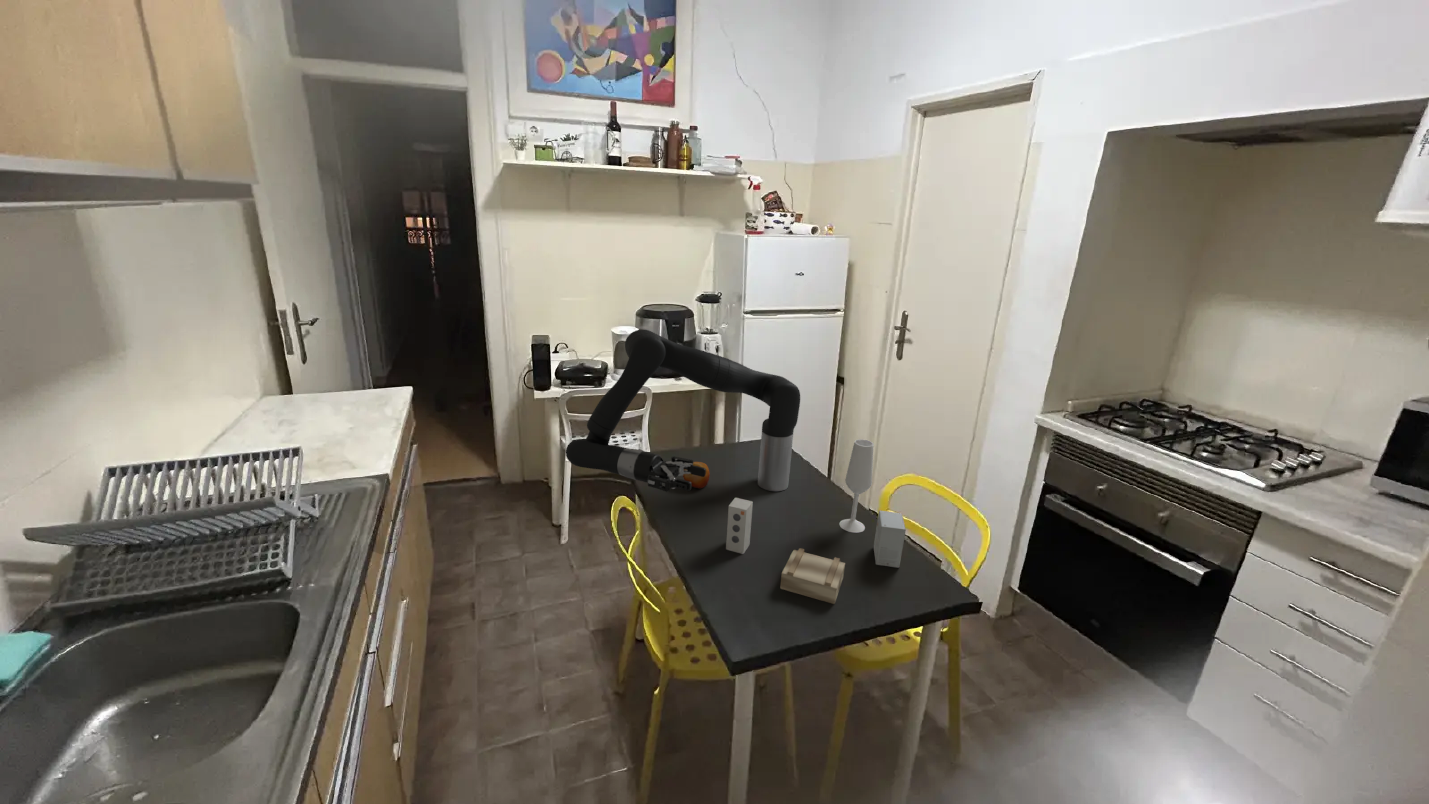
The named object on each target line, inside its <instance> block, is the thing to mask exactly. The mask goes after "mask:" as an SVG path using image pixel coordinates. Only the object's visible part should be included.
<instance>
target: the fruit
mask: <svg viewBox="0 0 1429 804" xmlns="http://www.w3.org/2000/svg"><path fill="white" fill-rule="evenodd" d="M693 465H694V466H698V467H703V468H705V469H706V475H705V476H704V477H701V476H697V475H693V474H684V475H683V476H682V478H683V480H686V481H690V482H691V483H692V486H691V488H696V489H704V488H705V487H707V485H708V483H709V480H710V476H711V473H710V468H709V466H708V464H706V463H704V462H703V461H702V462H701V461H693ZM684 470H686V469H684Z"/></svg>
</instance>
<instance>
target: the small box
mask: <svg viewBox="0 0 1429 804" xmlns="http://www.w3.org/2000/svg"><path fill="white" fill-rule="evenodd" d="M906 530H907V529H906V524H905V521H904V516H903V513H901V512H893V511H887V510H878V515H877V522H876V528H875V535H874V541H873V551H874V552H873V553H874V561H875V565H876V566H882V567H883V566H885V567H891V568H900V566H901V559H902V556H903V555H902V554H903V548H904V544H905V543H904V542H905V536H906Z"/></svg>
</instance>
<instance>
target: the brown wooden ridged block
mask: <svg viewBox="0 0 1429 804" xmlns="http://www.w3.org/2000/svg"><path fill="white" fill-rule="evenodd" d="M845 566H846V562H842V561H841V558H840V557H836V556H834V558H833V559H831V558H827V557H823V556H819V555H816V554H812V553H807V552H805V549H804V548H800V547H799V548H798V550H796V549H793V551H792V552H791V554H790V556H789V558H788V560H787V562H786V564H785V566H784V568H783V569H782V572H781V577H780V589H781V590H783V591H784V590H785V591H787V592H791V593H794V594H797V595H798V594H799V595H800V596H801V595H802V596H805V597H809V598H812V599H816V600H817V601H818V600H819V601H822V602H826V603H829V604H832V605H835V604H836V602H837V598H838V595H839V592H840V589H841V586H842V583H843V580H844V576H845V575H844V574H845Z"/></svg>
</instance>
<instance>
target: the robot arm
mask: <svg viewBox="0 0 1429 804" xmlns="http://www.w3.org/2000/svg"><path fill="white" fill-rule="evenodd" d="M624 348H625V353H626V355H627V357H628V360H627V363H626V365H625V367H624V369H623V371H622V373H621V375H620V376H619V378H618V379H617V381H616V382H615V383H614V385H613V386H612V387H610V388H609V390H607V392H606V393H605V394H604V395H603V396H602V397H601V398H600V400H599V401H598V403H597V405H596V406H595V407H594V409H593V412H592V413H591V415H590V416H589V418H588V420H587V423H586V428H587V429H588V431H589V432H588V434H587V436H586V438H576V439H573V440H571V441H570V442H569V443H568V444H567V446H566V448H565V456H566V459H567V460H568V462H569V463H571V464H572V465H574V466H576V467H579V468H584V469H585V468H586V469H590V470H591V469H592V470H601V471H605V472H608V473H612V474H614V475H620V476H623V477H625V478H628V479H631V480H635V481H638V482H643V483H647V486H648V487H650V488H653V489H657V490H660V491H664V492H670V491H671V489H672V490H675V489H678V490H679V489H680V490H683V491H687V492H689V491H692V487H691V486H692V483H691V482H690V481H686V480H684V479H681V478H677V477H683V475H684V474H693V475H697V476H701V477H704V476H705V475H706V469H705V468H703V467H698V466H694V465H693V462H694V460H693V459H689V458H684V457H678V456H674V455H673V456H671V458H670V459H671V460H664V459H663V458H662V456H661V455H660V454H658V453H654V452H651V451H646V450H641V449H637V448H628V447H624V446H620V445H613V444H612V445H611V444H610V439H611V436H612V434H613V432H614V431H615V429H616V428H617V426H618V424H619V423H620V421H621V419H622V417H623V416H624V414H625V413H626V410H628V407H629V406H630V405H631V403H632V402H633V400H634V398H635V397H636V396H637V395H638V393H639V392H640V391H641V389H642V388H643V386H644V385H646V383H647V382H648V380H649V379H650V378H651V377H652V376H653V375H654V374H655V372H656V371H657V370H658V369H659V368H665V369H668V370H670V371H673V372H675V373H676V374H679V375H680V376H682V377H684V378H685V379H687V380H689V381H691V382H693V383H695V384H698V385H699V386H702V387H705V388H708V389H711V390H713V391H717V392H721V393H731V394H733V393H735V394H736V393H737V394H745V395H747V396H750V397H752V398H755V399H757V400H759V401H761V402H763V403H765V404H766V405H767V406H769V410H768V411H769V412H768V418H766V419H764V420H763V421H762V424H761V436H760V448H759V451H760V452H759V463H758V474H757V485H758V486H759V487H760V488H761V489H763V490H765V491H770V492H781V491H784V490H787V488H788V487H789V481H790V480H789V479H790V472H791V462H792V461H791V460H792V451H793V440H794V439H793V438H794V431H795V428H796V426H797V424H798V420H799V414H800V413H799V412H800V406H801V392H800V389H799V387H798V386H797V385H796V384H795V383H793V382H792V381H790V380H789V379H787V378H785V377H783V376H780V375H778V374H777V375H776V374H771V373H767V372H763V371H758V370H755V369H751V368H749V367H747V366H746V365H744V364H741V363H738V362H737V361H735V360H731V359H729V358H726V357H724V356H721V355H718V354H715V353H712V352H708V351H704V350H703V349H702V350H701V349H698V348H695V347H690V346H687V345H683V344H679V343H677V342H674V341H672V340H671V339H668V338H666V337H663V336H662V335H660V334H657V333H655V332H653V331H651V330H648V329H637V330H634V331H632V332H631V333H630V334H629V335H627V336H626V339H625V341H624ZM684 469H686V470H684ZM663 484H664V485H663Z"/></svg>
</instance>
